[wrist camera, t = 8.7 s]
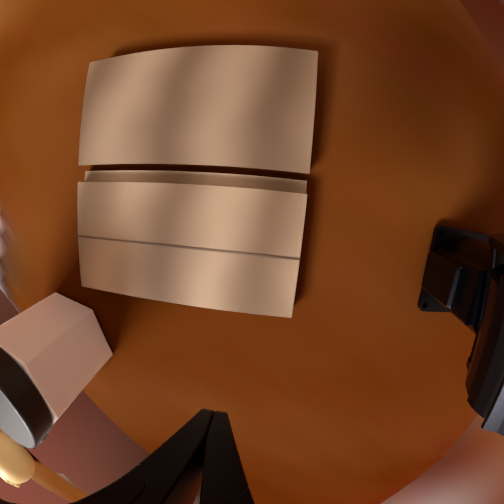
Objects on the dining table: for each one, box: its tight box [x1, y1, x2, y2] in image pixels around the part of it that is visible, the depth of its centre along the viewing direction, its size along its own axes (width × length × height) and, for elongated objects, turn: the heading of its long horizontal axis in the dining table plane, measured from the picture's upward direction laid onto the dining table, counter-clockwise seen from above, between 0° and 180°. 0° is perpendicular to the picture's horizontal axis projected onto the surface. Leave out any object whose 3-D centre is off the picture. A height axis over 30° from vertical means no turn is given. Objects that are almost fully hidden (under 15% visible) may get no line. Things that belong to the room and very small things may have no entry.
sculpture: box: [0, 432, 35, 487], centre depth 28 cm, size 12×12×11 cm
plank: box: [79, 45, 318, 174], centre depth 16 cm, size 16×8×1 cm, turn 85°
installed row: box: [77, 170, 307, 318], centre depth 19 cm, size 16×9×2 cm, turn 85°
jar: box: [0, 292, 112, 449], centre depth 17 cm, size 9×8×12 cm
